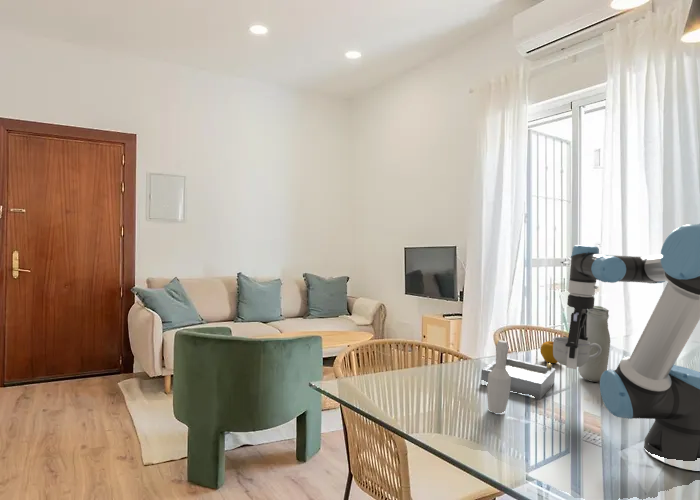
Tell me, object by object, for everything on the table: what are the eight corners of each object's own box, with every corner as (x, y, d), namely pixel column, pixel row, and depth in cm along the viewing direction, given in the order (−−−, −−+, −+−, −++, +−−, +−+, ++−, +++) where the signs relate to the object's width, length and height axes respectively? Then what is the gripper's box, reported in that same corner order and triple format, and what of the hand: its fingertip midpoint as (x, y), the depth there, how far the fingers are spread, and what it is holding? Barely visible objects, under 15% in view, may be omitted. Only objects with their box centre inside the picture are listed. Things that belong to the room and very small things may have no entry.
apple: (534, 359, 204) (536, 339, 203) (551, 358, 206) (553, 338, 205) (548, 366, 196) (550, 345, 195) (566, 365, 198) (568, 344, 197)
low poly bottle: (498, 406, 153) (504, 337, 151) (511, 415, 147) (518, 343, 145) (481, 408, 151) (487, 339, 149) (494, 417, 145) (500, 345, 143)
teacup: (549, 365, 153) (551, 340, 152) (553, 357, 162) (555, 333, 162) (599, 374, 146) (601, 348, 146) (600, 365, 156) (602, 340, 155)
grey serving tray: (539, 400, 160) (541, 379, 160) (480, 384, 172) (482, 364, 171) (554, 383, 177) (555, 364, 176) (499, 370, 188) (500, 352, 187)
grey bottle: (602, 377, 186) (610, 305, 183) (608, 387, 176) (617, 310, 173) (574, 373, 189) (581, 302, 186) (579, 382, 179) (586, 307, 176)
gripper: (588, 301, 141) (581, 375, 143) (600, 292, 160) (594, 358, 162) (560, 297, 145) (553, 369, 147) (575, 289, 164) (569, 353, 166)
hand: (574, 363), depth 154 cm, fingers closed on teacup, 11 cm apart
